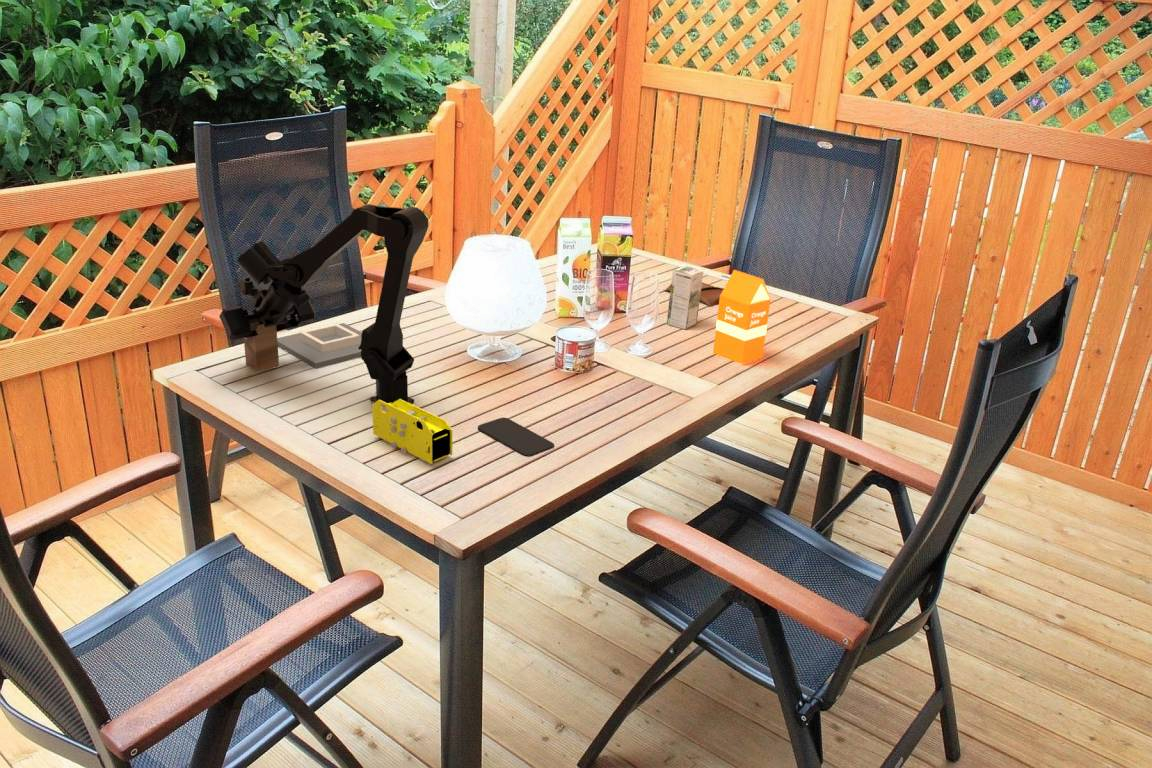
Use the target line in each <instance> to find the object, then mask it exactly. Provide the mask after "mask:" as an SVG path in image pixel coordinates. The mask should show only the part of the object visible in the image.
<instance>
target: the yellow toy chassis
mask: <svg viewBox="0 0 1152 768" xmlns="http://www.w3.org/2000/svg"><path fill="white" fill-rule="evenodd" d="M381 404H382V406H381ZM371 408H372V431H373V433H372V434H373V435H374V436H376V437H378V438H380V439H382V440H384V441H385V442H386V443H388V444H390V446H391V448H392V449H393V450H394V449H397V448H399V449H400V452H401V453H402V454H403V455H405V454H406V453H409V454H411V455H413V456H415V457H417V458H419V459H420V460H421V461H423V462H427V463H429V464H430V465H433V463H437V462H439V461H442V460H443V459H446V458H448V456H449V455H450V456H453V429H452V427H451V426H450V425H449V423H448V422H447V420H446V419H444V418H441V417H440V416H437V415H435V414H433V413H432V412H430V411H426V409H425V410H424V409H423V408H420V407H418V406H416V405H414V404H413V403H412V404H410V403H408V402H406V401H404V400H402V399H399V400H397V401H395V402H393V403H386V402H384V401H382V400H378V401H376V402H375V403H374V402H372V407H371Z"/></svg>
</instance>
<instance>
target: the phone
mask: <svg viewBox="0 0 1152 768" xmlns="http://www.w3.org/2000/svg"><path fill="white" fill-rule="evenodd" d="M477 430H478V432H480V433H482V434H484V435H485V436H487V437H489V438H491V439H492V440H494V441H496V442H497V443H500V444H502V446H505V447H507V448H508V449H510V450H512V451H514V452H516V453H518V454H520V455H521V456H523V457H527V458H528V457H530V458H531V457H533V456H535V455H538V454H541V453H544V452H546V451H549V450H551V449H554V448H555V444H554V442H552V441H551V440H548V439H546V438H545V437H543V436H541V435H540V434H537V432H536V433H535V432H533V431H532V430H530V429H528V428H527V427H525V426H522V425H521V424H519V423H517V422H515V421H514V420H512V419H510V418H508V417H499V418H496V419H493V420H490V421H487V422H484V423H481V424H479V425H477Z"/></svg>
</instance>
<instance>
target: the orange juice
mask: <svg viewBox="0 0 1152 768" xmlns="http://www.w3.org/2000/svg"><path fill="white" fill-rule="evenodd" d="M764 280H765V279H764V278H761V277H758V276H755V275H752V274H748V273H746V272H743V271H739V270H736V269H733V270H732V273H731V274H730V276H729V279H728V280H727V282H726V284H725V286H724V288H723V289H724V290H723V291H722V293H721V295H720V300H719V305H718V309H717V319H716V325H715V332H714V333H715V336H714V341H713V343H714V344H713V352H712V354H713V353H714V354H713V355H715V354H716V355H715V356H717V355H719V356H718V357H720V356H722V357H725V358H728V359H730V360H733V361H735V362H738V363H741V364H743V363H746V362H749V361H754V360H756V359H760V358H762V359H763V357H764V349H765V341H766V335H767V328H768V319H769V313H770V305H771V298H770V297H771V296H770V295H769V292H768V289H767V286H766V284H765V281H764ZM722 357H721V358H722ZM725 358H724V359H725ZM730 360H729V361H730ZM760 360H761V359H760ZM754 362H755V361H754Z"/></svg>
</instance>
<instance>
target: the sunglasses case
mask: <svg viewBox="0 0 1152 768" xmlns="http://www.w3.org/2000/svg"><path fill="white" fill-rule="evenodd" d="M670 290H671V284H670V285H668V287H666V289H664V290H662V291H663V292H666V293H668V294H670ZM723 290H724V288H723V287H718V286H713V285H710V284H708V283H705V282H702V286H701V294H700V302H699V304H702V305H704V306H708V307H710V308H711V307H714V306H719V300H720V295H721V293H722V291H723Z"/></svg>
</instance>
